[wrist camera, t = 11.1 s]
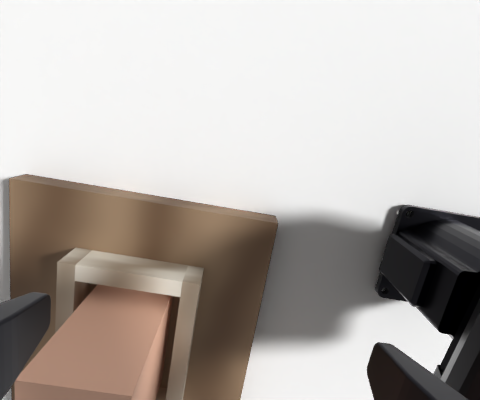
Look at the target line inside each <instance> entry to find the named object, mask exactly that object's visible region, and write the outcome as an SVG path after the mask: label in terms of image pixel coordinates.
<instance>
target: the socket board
mask: <svg viewBox="0 0 480 400" xmlns="http://www.w3.org/2000/svg"><path fill="white" fill-rule="evenodd" d="M9 205H10V297H11V299H14V298H17V297H20V296H23V295H25V294H28V293H31V292H39V293H46V294H49V295H50V297H51V321H50V325H49V328H48V330H47V332H46V333H45V335H44V336H43V338H42V340H41V341H40V343H39V344H38V346H37V348H36V349H35V351H34V352H33V354H32V356H31V357H30V359H29V360H28V362H27V363H26V365H25V367H26V366H27V365H28V364H29V363H30V362H31V361H32V359H33V358H34V357H35V356H36V355H37V354H38V352H39V351H40V350H41V349H42V348H43V347H44V346H45V344H46V343H47V342H48V341H49V340H50V339H51V338H52V336H53V335H54V334H55V333H56V332H57V331H58V329H59V328H60V327H61V326H62V325H63V324H64V323H65V321H66V320H67V319H68V318H69V317H70V316H71V314H72V313H73V312H74V311H75V310H76V309H77V308H78V306H79V305H80V304H81V303H82V302H83V301H84V299H85V298H86V297H87V296H88V295H89V294H90V293H91V291H92V290H93V289H94V288H95V287H96V286H97V284H99V285H105V286H112V287H118V288H125V289H131V290H137V291H144V292H150V293H157V294H163V295H170V296H173V300H172V307H171V315H170V322H169V330H168V338H167V345H166V353H165V361H164V368H163V376H162V380H161V383H160V387H159V390H158V393H157V397H156V400H240V398H241V393H242V388H243V384H244V379H245V375H246V370H247V365H248V361H249V356H250V351H251V347H252V342H253V338H254V333H255V328H256V324H257V319H258V314H259V310H260V305H261V301H262V296H263V291H264V287H265V282H266V277H267V273H268V268H269V264H270V259H271V254H272V250H273V245H274V240H275V236H276V231H277V227H278V221H277V219H276V216H273V215H267V214H261V213H255V212H249V211H243V210H237V209H231V208H225V207H219V206H213V205H207V204H201V203H195V202H189V201H183V200H177V199H172V198H166V197H160V196H154V195H148V194H142V193H136V192H130V191H124V190H118V189H112V188H106V187H100V186H94V185H88V184H82V183H76V182H70V181H64V180H58V179H52V178H46V177H40V176H34V175H28V174H25V175H21V176H17V177H13V178H9ZM25 367H24V368H23V370H24V369H25ZM23 370H22V371H23ZM22 371H21V372H22ZM11 389H12V400H15V387H14V384H13V385H12V386H11Z"/></svg>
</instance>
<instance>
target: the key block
mask: <svg viewBox="0 0 480 400" xmlns="http://www.w3.org/2000/svg"><path fill="white" fill-rule="evenodd" d="M172 300H173V296H170V295H163V294H157V293H150V292H144V291H137V290H131V289H125V288H118V287H112V286H105V285H99V284H97V286H96V287H95V288H94V289H93V290H92V291H91V293H90V294H89V295H88V296H87V297H86V298H85V299H84V301H83V302H82V303H81V304H80V305H79V306H78V308H77V309H76V310H75V311H74V312H73V313H72V314H71V316H70V317H69V318H68V319H67V320H66V321H65V323H64V324H63V325H62V326H61V327H60V328H59V329H58V331H57V332H56V333H55V334H54V335H53V336H52V338H51V339H50V340H49V341H48V342H47V343H46V344H45V346H44V347H43V348H42V349H41V350H40V351H39V352H38V354H37V355H36V356H35V357H34V358H33V359H32V361H31V362H30V363H29V364H28V365H27V366H26V367H25V369H24V370H23V371H22V372H21V373H20V375H19V376H18V378H17V379H16V381H15V382H14V387H15V400H156V397H157V393H158V390H159V387H160V383H161V380H162V376H163V368H164V361H165V353H166V345H167V338H168V330H169V322H170V315H171V307H172Z"/></svg>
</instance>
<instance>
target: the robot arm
mask: <svg viewBox="0 0 480 400" xmlns="http://www.w3.org/2000/svg"><path fill="white" fill-rule="evenodd" d="M409 210H411V213H410V215H409V216H406V213H407V212H408V211H409ZM379 270H380V274H379V277H378V281H377V284H376V287H375V290H376V292H377V293H378V295H379V296H380V297H383V298H389V299H395V300H402V301H408V302H409V303H410V304H411V305H412V306H414V307H416V308H417V309H418V310H419V311H420V312H421V313H422V314H423V315H424V316H425V317H426V318H427V319H428V320H429V321H430V323H431V324H432V325H433V326H434V327H435V328H436V329H437V330H438V331H439V332H441V333H444V334H448V335H449V336H450V337H451V338H452V339H453V340H452V342H451V344H450V346H449V348H448V350H447V353H446V355H445V357H444V359H443V361H442V363H441V365H437V368H436V370H435V372H434V374H432V373H431V372H429V371H428V370H427V369H425V368H424V367H422V366H421V365H420V364H418V363H417V362H416V361H414V360H413V359H411V358H410V357H409V356H407V355H406V354H404V353H403V352H402V351H400V350H399V349H398V348H396V347H395V346H393V345H391V344H387V343H380V342H378V343H376V344H375V345H374V347H373V350H372V354H371V357H370V360H369V363H368V366H367V375H368V379H369V383H370V386H371V390H372V394H373V397H374V400H480V217H476V216H470V215H465V214H459V213H453V212H447V211H441V210H436V209H430V208H424V207H418V206H412V205H405V206H403V207H402V208H401V209H400V211H399V214H398V217H397V220H396V223H395V227H394V230H393V233H392V235H391V236H390V237H389V239H388V243H387V246H386V249H385V252H384V255H383V259H382V262H381V265H380V268H379ZM383 288H386V290H385V291H381V290H382V289H383ZM50 321H51V297H50V295H49V294H46V293H39V292H31V293H28V294H25V295H23V296H20V297H17V298H14V299H11V300H8V301H5V302H2V303H0V400H2V398H3V397H4V396H5V395H6V393H7V392H8V390H9V389H10V388H11V386H12V385H13V384H14V382H15V381H16V379H17V378H18V376H19V375H20V373H21V371H22V370H23V368H24V367H25V365H26V363H27V362H28V360H29V359H30V357H31V356H32V354H33V352H34V351H35V349H36V348H37V346H38V344H39V343H40V341H41V340H42V338H43V336H44V335H45V333H46V332H47V330H48V328H49V325H50Z"/></svg>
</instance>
